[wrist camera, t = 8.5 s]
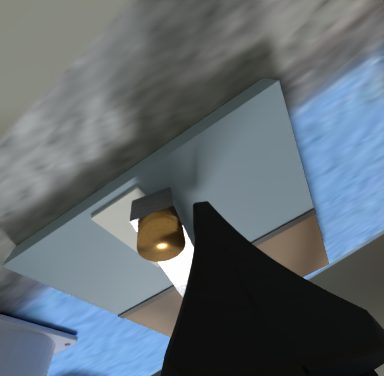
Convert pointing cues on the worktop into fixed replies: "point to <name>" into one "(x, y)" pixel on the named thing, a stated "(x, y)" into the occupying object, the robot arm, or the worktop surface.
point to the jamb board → (270, 244)
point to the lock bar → (164, 235)
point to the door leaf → (185, 196)
